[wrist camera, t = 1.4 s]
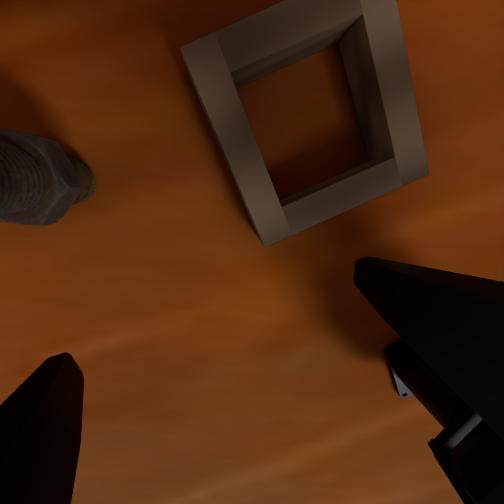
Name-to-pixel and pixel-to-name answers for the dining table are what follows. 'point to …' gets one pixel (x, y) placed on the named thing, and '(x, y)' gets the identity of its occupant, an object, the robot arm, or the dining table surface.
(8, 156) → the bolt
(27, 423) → the robot arm
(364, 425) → the dining table surface
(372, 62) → the socket block
